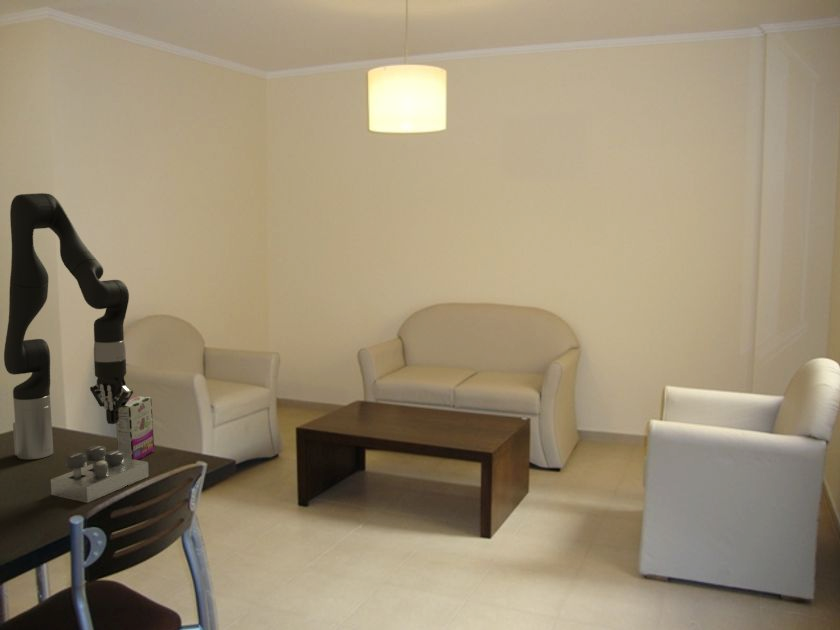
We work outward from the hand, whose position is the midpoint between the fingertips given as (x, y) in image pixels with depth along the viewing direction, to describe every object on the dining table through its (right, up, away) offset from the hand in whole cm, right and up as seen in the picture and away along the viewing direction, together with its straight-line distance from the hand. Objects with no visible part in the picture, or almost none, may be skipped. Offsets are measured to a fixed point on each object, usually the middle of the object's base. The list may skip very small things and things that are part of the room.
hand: (112, 423), depth 196 cm
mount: (-1, -15, -4) cm, 16 cm away
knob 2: (-2, -11, -4) cm, 12 cm away
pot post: (+1, -12, -9) cm, 15 cm away
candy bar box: (-1, -12, +18) cm, 22 cm away
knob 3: (0, -13, +2) cm, 14 cm away
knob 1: (-5, -12, -10) cm, 16 cm away
